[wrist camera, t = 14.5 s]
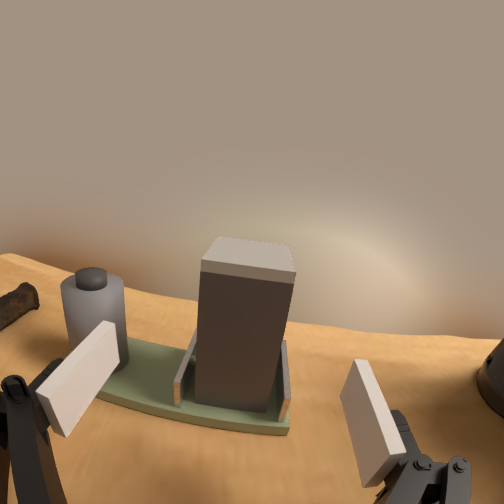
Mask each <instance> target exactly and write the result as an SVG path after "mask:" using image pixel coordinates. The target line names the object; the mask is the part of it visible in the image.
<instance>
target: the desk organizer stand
mask: <svg viewBox="0 0 504 504" xmlns="http://www.w3.org/2000/svg"><path fill="white" fill-rule="evenodd" d="M60 288H61V295H62V303H63V309H64V315H65V321H66V327H67V332H68V337H69V342H70V346H71V351H70V352H69V353H68V354H67V355H66V357H65V358H64V360H65V359H66V358H67V357H68V356H69V355H70V354H71V353H72V352H73V351H74V349H75V348H76V347H77V346H78V345H79V344H80V343H81V342H82V341H83V340H84V339H85V338H86V337H87V336H88V335H89V334H90V333H91V332H92V331H93V330H94V329H95V328H96V327H97V326H98V325H99V324H100V323H101V322H102V321H103V320H104V321H108V322H112V323H115V329H116V338H117V346H118V354H119V361H120V362H119V364H118V365H117V366H116V368H115V369H114V371H113V372H112V373H111V375H110V376H109V378H108V379H107V380H106V382H105V383H104V385H103V386H102V387H101V389H100V390H99V392H98V393H97V395H96V396H95V397H97V398H100V399H103V400H105V401H108V402H111V403H114V404H117V405H121V406H124V407H127V408H130V409H134V410H137V411H141V412H144V413H148V414H152V415H156V416H160V417H164V418H168V419H172V420H176V421H181V422H186V423H191V424H196V425H201V426H207V427H212V428H219V429H225V430H232V431H240V432H248V433H258V434H269V435H283V436H287V434H288V431H289V428H290V423H289V408H288V410H287V414H286V417H285V420H284V423H280V422H278V420H277V382H276V372H275V377H274V381H273V385H272V390H271V394H270V398H269V402H268V406H267V410H266V413H257V412H248V411H240V410H233V409H226V408H219V407H213V406H207V405H202V404H196V403H195V368H194V371H193V374H192V377H191V380H190V383H189V385H188V388H187V391H186V394H185V397H184V400H183V403H182V406H181V408H177V407H175V404H174V379H175V377H176V375H177V372H178V370H179V368H180V365H181V363H182V361H183V358H184V356H185V354H186V351H187V350H184V349H178V348H173V347H169V346H164V345H159V344H155V343H150V342H146V341H141V340H137V339H133V338H129V337H127V331H126V319H125V304H124V283H123V281H122V279H121V278H119V277H118V276H116V275H113V274H110V273H107V272H106V270H104V269H101V268H95V267H91V268H90V267H89V268H83V269H80V270H78V271H77V272H76V273H75V275H72V276H70V277H68V278H66V279H65V280H64V281H63V282H62V283H61V286H60ZM195 367H196V366H195Z"/></svg>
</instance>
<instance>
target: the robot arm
mask: <svg viewBox="0 0 504 504" xmlns="http://www.w3.org/2000/svg"><path fill="white" fill-rule="evenodd" d="M119 362H120V361H119V354H118V346H117V338H116V329H115V323H112V322H108V321H104V320H103V321H102V322H101V323H100V324H99V325H98V326H97V327H96V328H95V329H94V330H93V331H92V332H91V333H90V334H89V335H88V336H87V337H86V338H85V339H84V340H83V341H82V342H81V343H80V344H79V345H78V346H77V347H76V348H75V349H74V351H73V352H72V353H71V354H70V355H69V356H68V357H67V358H66V359H65V360H64V359H62V358H58V359H56V360H54V361H52V362H51V363H50V364H49V365H48V366H47V367H46V369H44V370H43V371H42V372H41V373H40V374H39V375H38V376H37V377H36V378H35V379H34V380H33V381H32V382H31V383H30V384H29V386H28V387H27V385H26V382H25V380H24V379H23V378H22V377H21V376H18V375H10V376H8V377H6V378H4V379H3V381H2V382H1V387H2V390H3V392H1V391H0V504H7V494H8V478H9V468H10V460H11V467H12V474H13V480H14V485H15V490H16V495H17V500H18V504H67V501H66V498H65V495H64V492H63V489H62V485H61V482H60V479H59V475H58V472H57V468H56V464H55V460H54V456H53V452H52V447H51V443H50V438H49V433H48V431H47V428H48V427H49V425H51V427H52V429H53V431H54V432H55V433H57V434H59V435H61V436H63V437H65V438H67V437H68V436H69V434H70V433H71V431H72V430H73V428H74V427H75V425H76V424H77V422H78V421H79V419H80V418H81V416H82V415H83V413H84V412H85V410H86V409H87V408H88V406H89V405H90V403H91V402H92V400H93V399H94V397H95V396H96V395H97V393H98V392H99V390H100V389H101V387H102V386H103V385H104V383H105V382H106V380H107V379H108V378H109V376H110V375H111V373H112V372H113V371H114V369H115V368H116V366H117V365H118V364H119ZM477 383H478V387H479V390H480V392H481V394H482V396H483V397H484V399H485V400H486V401H487V403H488V404H489V405H490V406H491V407H492V408H493V409H494V410H495V411H496V412H497V413H499V414H500V415H501V416H503V417H504V338H503V339H502V340H501V342H500V343H499V344H498V345H497V346H496V348H495V349H494V350H493V351H492V352H491V353H490V354H489V356H488V357H487V358H486V359H485V361H484V363H483V365H482V367H481V369H480V370H479V372H478V375H477ZM340 398H341V401H342V405H343V409H344V413H345V416H346V420H347V424H348V428H349V432H350V436H351V440H352V444H353V448H354V452H355V456H356V460H357V465H358V469H359V473H360V478H361V482H362V487H363V488H367V487H374V486H378V485H379V484H380V483H381V482H382V481H383V480H384V482H385V485H386V486H385V487H384V488H383V489H382V490H381V491H380V492H379V493H378V494H377V495H376V497H377V499H376V500H375V502H374V503H373V504H470V497H471V466H470V463H469V462H468V460H467V459H465V458H464V457H460V456H456V457H454V458H452V459H451V460H450V461H449V462H448V463H438V462H433V461H432V459H431V458H430V457H429V456H427V455H425V454H421V453H420V450H419V448H418V446H417V443H416V441H415V439H414V437H413V434H412V432H410V428H409V426H408V423H407V421H406V419H405V417H404V415H403V414H402V413H401V412H400V411H399V410H389V408H388V406H387V403H386V401H385V399H384V396H383V394H382V392H381V390H380V387H379V385H378V383H377V381H376V378H375V376H374V374H373V372H372V370H371V367H370V365H369V363H368V361H367V360H363V359H354V361H353V364H352V367H351V369H350V372H349V374H348V377H347V380H346V382H345V385H344V387H343V390H342V392H341V394H340Z"/></svg>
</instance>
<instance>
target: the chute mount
mask: <svg viewBox="0 0 504 504" xmlns="http://www.w3.org/2000/svg"><path fill="white" fill-rule="evenodd" d="M196 340H197V328H196V330H195V333H194V335H193V337H192V340H191V342H190V344H189V347H188V349H187V351H186V354H185V356H184V358H183V361H182V363H181V365H180V368H179V370H178V372H177V375H176V377H175V379H174V404H175V407H177V408H181V406H182V403H183V400H184V397H185V394H186V391H187V388H188V385H189V383H190V380H191V377H192V374H193V371H194V368H195V366H196ZM276 382H277V420H278V422H280V423H284V420H285V417H286V414H287V410H288V407H289V404H290V401H291V391H290V380H289V368H288V358H287V347H286V340H283V341H282V346H281V350H280V355H279V359H278V364H277V368H276Z"/></svg>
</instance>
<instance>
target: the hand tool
mask: <svg viewBox="0 0 504 504" xmlns="http://www.w3.org/2000/svg"><path fill="white" fill-rule="evenodd" d="M39 306H40V304H39V298H38V293H37V290H36V289H35V287H34V286H32V285H31V284H29V283H28V282H24V283H22V284H20V285H19V287H18V288H17V289H16V290H14V291H12V292H9V293H8V294H7V295H4V296H2V297H0V330H1V329H3V328H4V327H6V326H7V325H8V324H10V323H11V322H13V321H14V320H16V319H17V318H19V317H21V316H22V315H24V314H25V313H26V312H28V311H29V310H31V309H35V310H38V308H39Z"/></svg>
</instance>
